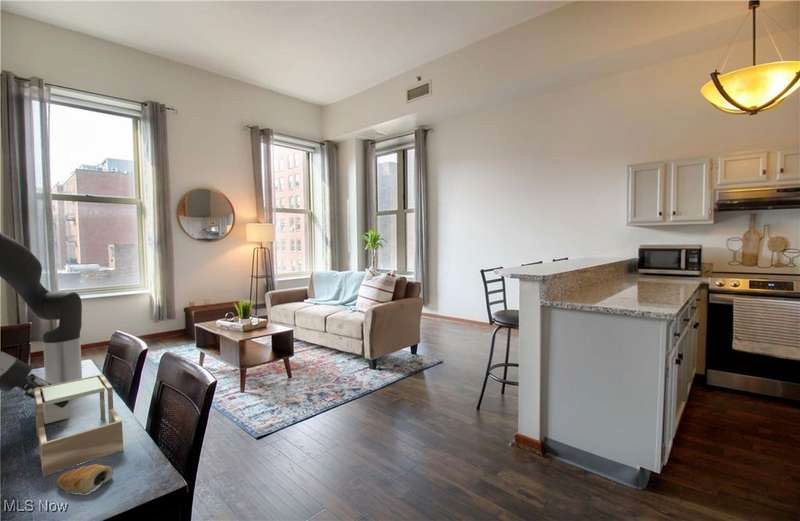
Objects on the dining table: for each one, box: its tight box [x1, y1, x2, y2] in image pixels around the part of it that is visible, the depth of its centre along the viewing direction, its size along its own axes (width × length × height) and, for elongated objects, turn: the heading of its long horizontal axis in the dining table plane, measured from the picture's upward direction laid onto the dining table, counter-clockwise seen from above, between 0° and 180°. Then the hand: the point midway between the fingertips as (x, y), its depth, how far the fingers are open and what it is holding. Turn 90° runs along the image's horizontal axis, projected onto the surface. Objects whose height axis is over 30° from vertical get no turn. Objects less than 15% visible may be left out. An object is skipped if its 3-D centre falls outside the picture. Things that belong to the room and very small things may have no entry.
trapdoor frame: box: [34, 374, 124, 478], centre depth 91 cm, size 24×14×12 cm, turn 47°
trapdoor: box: [42, 377, 106, 405], centre depth 95 cm, size 11×11×1 cm
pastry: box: [56, 463, 114, 494], centre depth 76 cm, size 9×7×4 cm
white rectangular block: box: [43, 402, 71, 425], centre depth 104 cm, size 5×5×8 cm
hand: (64, 401), depth 105 cm, fingers closed on white rectangular block, 5 cm apart
